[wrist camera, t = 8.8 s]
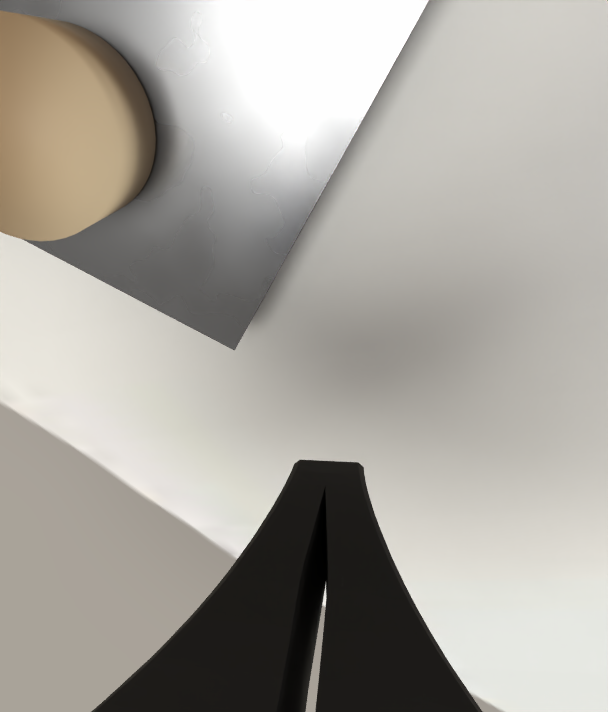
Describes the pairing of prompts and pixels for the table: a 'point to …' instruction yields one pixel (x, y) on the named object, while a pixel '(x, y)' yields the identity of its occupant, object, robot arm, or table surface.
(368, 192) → the table surface
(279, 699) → the robot arm
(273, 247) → the knob panel
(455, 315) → the table surface
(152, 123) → the knob
